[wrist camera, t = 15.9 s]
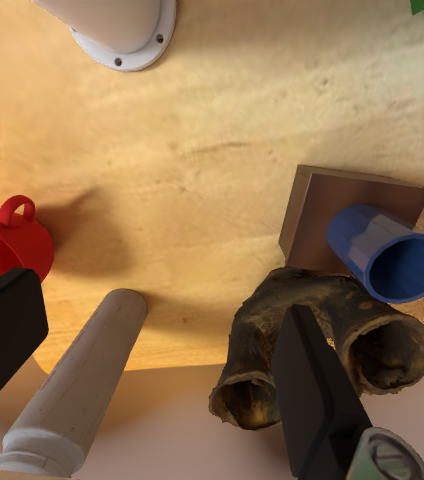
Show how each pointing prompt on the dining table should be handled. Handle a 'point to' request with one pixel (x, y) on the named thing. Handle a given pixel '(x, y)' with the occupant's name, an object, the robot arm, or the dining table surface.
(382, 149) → the dining table surface
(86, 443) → the thermos bottle
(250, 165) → the dining table surface
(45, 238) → the ceramic cup
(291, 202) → the box
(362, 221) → the cup
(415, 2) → the hardback book
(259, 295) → the pottery vessel
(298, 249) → the box lid
